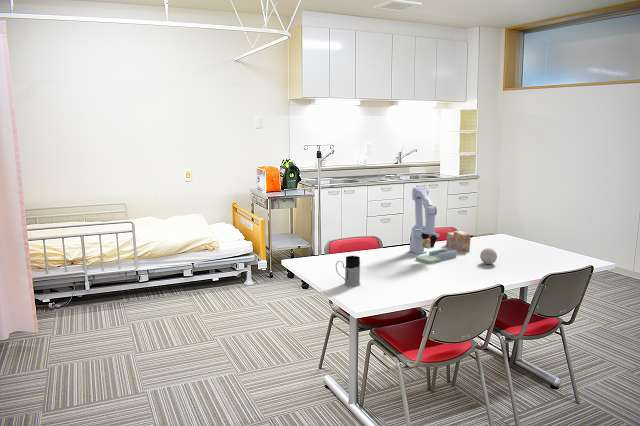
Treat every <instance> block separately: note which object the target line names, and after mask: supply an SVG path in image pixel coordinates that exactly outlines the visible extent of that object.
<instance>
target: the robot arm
mask: <svg viewBox="0 0 640 426" xmlns="http://www.w3.org/2000/svg"><path fill="white" fill-rule="evenodd" d="M429 192H430V190H429V188H428V187H413V188H412V190H411V198H412V200H413V201H414V204H415V205H414V210H415V211H414V214H415V225H414V226H413V227H412V228H411V233H410V237H411V239H410V242H409V250H408V252H410V253H413V254H418V255H422V254H425V253H427V251H425V248H424V247H422V242H423V239H430V241H431V247H435V244H436V242H437V239H439V238H440V233H437V232H436V231H435V225H436V222H435V221H436V215H437V214H438V213H437V212H438V210H437V209H438V208H437V206H436V205H434V204H433V202H432V200H431V199H429ZM423 208H424V218H425V226H424V224H423V223H424V222H423V221H424V220H423Z"/></svg>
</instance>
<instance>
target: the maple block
mask: <svg viewBox="0 0 640 426" xmlns="http://www.w3.org/2000/svg"><path fill="white" fill-rule="evenodd" d="M422 247H424V249H434V247H435V246H434V247H431V241H430V238H428V239H423V242H422Z"/></svg>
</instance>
